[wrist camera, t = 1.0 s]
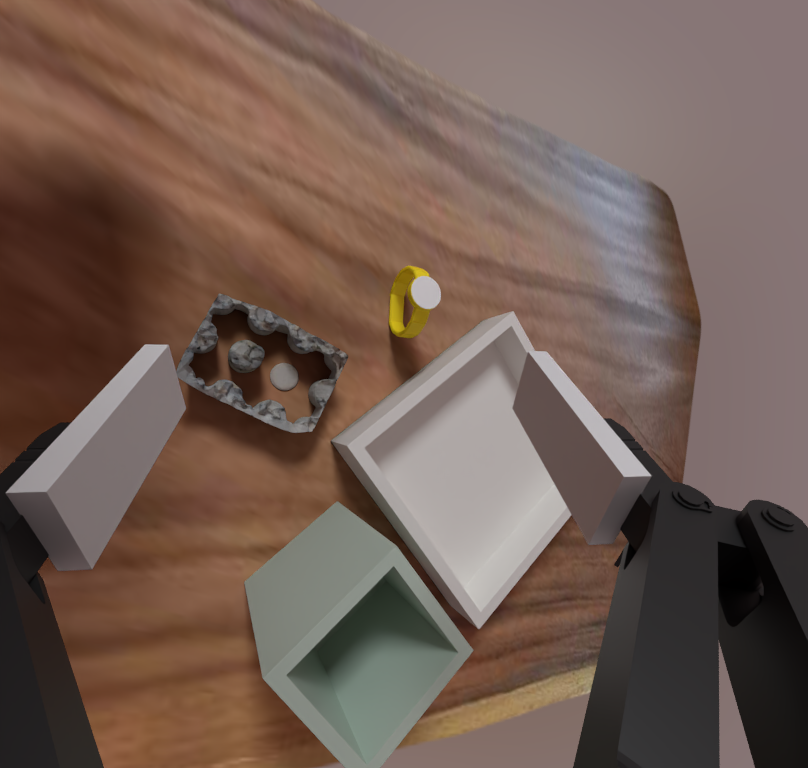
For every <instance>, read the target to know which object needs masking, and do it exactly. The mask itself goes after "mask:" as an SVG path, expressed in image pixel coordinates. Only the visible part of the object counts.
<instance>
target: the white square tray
mask: <svg viewBox="0 0 808 768" xmlns="http://www.w3.org/2000/svg"><path fill="white" fill-rule="evenodd" d="M528 351H535V350H534V348H533V346H532V344H531V343H530V341H529V339H528V337H527V335H526V334H525V332H524V330H523V328H522V326H521V325H520V323H519V321H518V319H517V317H516V315H515V314H514V312H513V311H512V312H508V313H505V314H502V315H499V316H496V317H492V318H489V319H486V320H483V321H482V322H481V323H479V324H478V325H477V326H476V327H474V328H473V329H472V330H471V331H469V332H468V333H467V334H465V335H464V336H463V337H462V338H460V339H459V340H458V341H457V342H455V343H454V344H453V345H452V346H450V347H449V348H448V349H446V350H445V351H444V352H443V353H441V354H440V355H439V356H438V357H436V358H435V359H434V360H432V361H431V362H430V363H429V364H427V365H426V366H425V367H424V368H422V369H421V370H420V371H419V372H417V373H416V374H415V375H413V376H412V377H411V378H410V379H408V380H407V381H406V382H405V383H403V384H402V385H401V386H400V387H398V388H397V389H396V390H394V391H393V392H392V393H391V394H389V395H388V396H387V397H386V398H384V399H383V400H382V401H381V402H379V403H378V404H377V405H375V406H374V407H373V408H372V409H370V410H369V411H368V412H367V413H365V414H364V415H363V416H361V417H360V418H359V419H358V420H356V421H355V422H354V423H353V424H351V425H350V426H349V427H348V428H346V429H345V430H344V431H342V432H341V433H340V434H339V435H337V436H336V437H335V438H334V439H332V440H331V442H332V444H333V445H334V446H335V448H336V449H337V451H338V452H339V453H340V455H341V456H342V457H343V459H344V460H345V462H346V463H347V464H348V466H349V467H350V468H351V470H352V471H353V473H354V474H355V475H356V477H357V478H358V479H359V481H360V482H361V484H362V485H363V486H364V488H365V489H366V490H367V492H368V493H369V495H370V496H371V497H372V499H373V500H374V501H375V503H376V504H377V506H378V507H379V508H380V510H381V511H382V512H383V514H384V515H385V517H386V518H387V519H388V521H389V522H390V523H391V525H392V526H393V528H394V529H395V530H396V532H397V533H398V534H399V536H400V537H401V539H402V540H403V541H404V543H405V544H406V545H407V547H408V548H409V550H410V551H411V552H412V554H413V555H414V556H415V558H416V559H417V561H418V562H419V563H420V565H421V566H422V567H423V569H424V570H425V572H426V573H427V574H428V576H429V577H430V578H431V580H432V581H433V583H434V584H435V585H436V587H437V588H438V589H439V591H440V592H441V594H442V595H443V596H444V598H445V599H446V600H447V602H448V603H449V605H450V606H451V607H452V608H454V609H455V610H456V611H457V612H458V613H460V614H461V615H462V616H463V617H464V618H466V619H467V620H468V621H469V622H470V623H472V624H473V625H474V626H475V627H476V628H478V629H480V628H481V626H482V625H483V624H484V623H485V621H486V620H487V619H488V618H489V617H490V615H491V614H492V613H493V612H494V610H495V609H496V608H497V607H498V605H499V604H500V603H501V602H502V600H503V599H504V598H505V597H506V595H507V594H508V593H509V592H510V591H511V589H512V588H513V587H514V586H515V584H516V583H517V582H518V581H519V579H520V578H521V577H522V576H523V574H524V573H525V572H526V571H527V569H528V568H529V567H530V566H531V564H532V563H533V562H534V561H535V560H536V558H537V557H538V556H539V555H540V553H541V552H542V551H543V550H544V548H545V547H546V546H547V545H548V543H549V542H550V541H551V540H552V538H553V537H554V536H555V535H556V534H557V532H558V531H559V530H560V529H561V527H562V526H563V525H564V524H565V522H566V521H567V520H568V519H569V517H570V516H571V515H572V514H571V513H570V511H569V509H568V507H567V506H566V504H565V502H564V500H563V498H562V497H561V495H560V493H559V491H558V489H557V488H556V486H555V484H554V482H553V480H552V479H551V477H550V475H549V473H548V471H547V470H546V468H545V466H544V464H543V462H542V461H541V459H540V457H539V455H538V453H537V452H536V450H535V448H534V446H533V444H532V443H531V441H530V439H529V437H528V436H527V434H526V432H525V430H524V428H523V427H522V425H521V423H520V421H519V419H518V418H517V416H516V414H515V412H514V410H513V409H512V407H513V404H514V400H515V396H516V393H517V389H518V386H519V382H520V378H521V375H522V371H523V368H524V364H525V360H526V357H527V353H528Z"/></svg>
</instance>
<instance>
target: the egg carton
mask: <svg viewBox="0 0 808 768" xmlns="http://www.w3.org/2000/svg"><path fill="white" fill-rule="evenodd" d="M235 309H237V310H241V311H242V312H244V313H246V314H248V318H247V321H248V325H249V327H250V329H251V330H252V331H253V332H254V333H256V334H259V335H268V334H270V333H272V332H274V331H275V330H276V331H279V332H282V333H286V334H288V337H287V342H288V345H289V347H290V348H291V350H292V351H294V352H295V353H299V354H306V353H309V352H313V351H320V352H321V353H323V354H324V361H325V364H326V366H327V367H328V368H329V369H330V370H331V371H332V372H331V374H330V376H329V379H324V380H320V381H316V382H314V383H313V384H312V385H311V386H310V388H309V393H308V397H309V400H310V402H311V403H312V404H313V405H314V406H316V408H315V410H314V412H313V414H312V416H311V417H302V418H299V419H298V420H296V421H295V423H294V424H293V423H291V422H289V421H287V420H286V412H285V408H284V407H283V406H282V405H281V404H280V403H278V402H276V401H273V400H266V401H262V402H260V403H258V404H257V405H256V406H255V407H253V408H252V406H251V405H246V402H245V401H244V400H243V397H242V394H243V392H242V390H241V389H240V388H239V387H238V386H237V385H236V384H235V383H234V382H233V381H229V380H219V381H217V382H216V383H214V384H213V385H211V386H209V387H208V386H205V383H204V380H203V379H201V378H196V376H195V373H194V371H193V370H192V368H191V367H190V366H189V364H190V363H191V361H192V360H193V353H199V354H202V353H207V352H210V351H211V350H212V349H214V348H215V346H216V344H217V340H218V336H217V329H216V327H215V326H214V325H213V324H212V323H211V320H212V315H213V314H217V315H227V314H229V313H231V312H232V311H233V310H235ZM264 355H265V353H264V349H263V348H262V347H261V346H258V345H257V344H255V343H253V342H251V341H249V340H242V341H238V342H236V343H235V344H234V345H233V344H232V346H231V348H230V350H229V354H228V361H229V364H230V366H231V368H232V369H234V370H235V371H237V372H239V373H249V372H252V371H254V370H255V369H256V368H257V367H259V366H260V365H261V363H262V361H263V358H264ZM347 359H348V355H347V354H346V353H344V352H342V351H340V350H339V349H338V348H336V347H335V346H332V345H331V344H329V343H328V342H326V341H324V340H322V339H320V338H318V337H316V336H313V335H311V334H309V333H308V332H306V331H304V330H303V329H301V328H300V327H298V326H296V325H294V324H291V323H290V322H288V321H286V320H285V319H283V318H281V317H279V316H277V315H276V314H274V313H272V312H271V311H268V310H265V309H262V308H260V307H257V306H254V305H250V304H247V303H245V302H242V301H238V300H235V299H232V298H231V297H229V296H226V295H223V294H219V295H218V297H217V298H216V300H215V301H214V303H213V304H212V306H211V308H210V310H209V311H208V314H207V316H206V318H205V319H204V321H203V322H202V324H201V325H200V327H199V329H198V331H197V333H196V334H195V336H194V338H193V339H192V341H191V343H190V345H189V347H188V348H187V349H186V351H185V353H184V355H183V357H182V359H181V361H180V363H179V365H178V368H177V371H176V373H177V377H178V378H180V379H181V380H183V381H184V382H186V383H187V384H189V385H190V386H192V387H194V388H196V389H198V390H199V391H201V392H203V393H205V394H207V395H209V396H211V397H214V398H216V399H217V400H219V401H221V402H224V403H227V404H229V405H231V406H233V407H234V408H236V409H238V410H240V411H243V412H245V413H247V414H249V415H251V416H253V417H255V418H257V419H260V420H262V421H263V422H265V423H267V424H270V425H272V426H275V427H277V428H280V429H282V430H285V431H289V432H292V433H300V432H312V431H313V429H314V428H315V426H316V424H317V422H318V419H319V417H320V415H321V413H322V411H323V409H324V407H325V405H326V403H327V401H328V399H329V397H330V395H331V393H332V391H333V389H334V386H335V384H336V381H337V379H338V377H339V376H340V373H341V371H342V369H343V367H344V365H345V363H346V361H347ZM298 379H299V378H298V372H297V370H296V368H295V367H293V366H292V365H290V364H288V363H281V364H278V365H276V366H275V367H273V369H272V370H271V373H270V380H271V382H272V384H273V385H274V386H275V387H276V388H277V389H279V390H284V391H286V390H290V389H292V388H294V387H295V386H296V384H297V383H298ZM243 404H244V405H246V406H244V405H243Z"/></svg>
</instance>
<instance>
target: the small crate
mask: <svg viewBox="0 0 808 768" xmlns="http://www.w3.org/2000/svg"><path fill="white" fill-rule="evenodd" d="M244 584H245V589H246V594H247V599H248V605H249V610H250V615H251V620H252V625H253V631H254V636H255V641H256V646H257V651H258V657H259V662H260V667H261V672H262V677H263V679H264V681H265V682H266V683H267V684H268V685H269V686H270V687H271V688H272V689H273V690H274V691H275V692H276V694H277V695H278V696H279V697H280V698H281V699H282V700H283V701H284V702H285V703H286V704H287V705H288V707H289V708H290V709H291V710H292V711H293V712H294V713H295V714H296V715H297V716H298V717H299V718H300V720H301V721H302V722H303V723H304V724H305V725H306V726H307V727H308V728H309V729H310V730H311V731H312V733H313V734H314V735H315V736H316V737H317V738H318V739H319V740H320V741H321V742H322V743H323V744H324V746H325V747H326V748H327V749H328V750H329V751H330V752H331V753H332V754H333V755H334V756H335V757H336V759H337V760H338V761H339V762H340V763H341V764H342V765H343V766H344V767H345V768H381V766H382V765H383V764H384V763H385V761H386V760H387V759H388V757H389V756H390V755H391V754H392V753H393V751H394V750H395V749H396V747H397V746H398V745H399V744H400V742H401V741H402V740H403V739H404V737H405V736H406V735H407V734H408V732H409V731H410V730H411V729H412V727H413V726H414V725H415V724H416V722H417V721H418V720H419V718H420V717H421V716H422V715H423V713H424V712H425V711H426V710H427V708H428V707H429V706H430V705H431V703H432V702H433V701H434V700H435V698H436V697H437V696H438V695H439V693H440V692H441V691H442V690H443V688H444V687H445V686H446V684H447V683H448V682H449V681H450V679H451V678H452V677H453V676H454V674H455V673H456V672H457V671H458V669H459V668H460V667H461V666H462V664H463V663H464V662H465V661H466V659H467V658H468V657H469V656H470V654H471V653H472V652H473V649H472V648H471V646H470V645H469V644H468V642H467V641H466V640H465V638H464V637H463V636H462V634H461V633H460V631H459V630H458V629H457V627H456V626H455V625H454V623H453V622H452V621H451V619H450V618H449V616H448V615H447V614H446V612H445V611H444V610H443V608H442V607H441V606H440V604H439V603H438V602H437V600H436V599H435V597H434V596H433V595H432V593H431V592H430V591H429V589H428V588H427V587H426V585H425V584H424V582H423V581H422V580H421V578H420V577H419V576H418V574H417V573H416V572H415V570H414V569H413V567H412V566H411V565H410V563H409V562H408V561H407V559H406V558H405V557H404V555H403V554H402V552H401V551H400V550H399V548H398V547H397V546H396V545H395V544H394V543H392V542H391V541H390V540H388V539H387V538H386V537H384V536H383V535H382V534H380V533H379V532H378V531H376V530H375V529H374V528H372V527H371V526H370V525H368V524H367V523H366V522H364V521H363V520H362V519H360V518H359V517H358V516H356V515H355V514H354V513H352V512H351V511H350V510H348V509H347V508H346V507H344V506H343V505H342V504H340V503H339V502H338V501H337V502H336V503H335V504H333V505H332V506H331V507H330V508H329V509H328V510H326V511H325V512H324V513H323V514H322V515H321V516H320V517H318V518H317V519H316V520H315V521H314V522H313V523H312V524H310V525H309V526H308V527H307V528H306V529H305V530H303V531H302V532H301V533H300V534H299V535H298V536H297V537H295V538H294V539H293V540H292V541H291V542H290V543H288V544H287V545H286V546H285V547H284V548H283V549H282V550H280V551H279V552H278V553H277V554H276V555H275V556H274V557H272V558H271V559H270V560H269V561H268V562H267V563H265V564H264V565H263V566H262V567H261V568H260V569H259V570H257V571H256V572H255V573H254V574H253V575H252V576H251V577H249V578H248V579H247V580H246V581H245V582H244Z"/></svg>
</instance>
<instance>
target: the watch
mask: <svg viewBox="0 0 808 768" xmlns="http://www.w3.org/2000/svg"><path fill="white" fill-rule="evenodd" d="M413 277H414V278H415V279H414V280H413V281H412V282H411V283H410V281H411V280H412V279H413ZM409 283H410V285H409ZM408 285H409V286H408ZM407 288H408V291H407V293H408V299H409V301H410V303H411V304H412V306H413V307H414V309H413V313H412V316H411V320H410V321H409V323H408V324H407V326H406V328H405V327H404V325H403V312H404V296H405V293H406V290H407ZM390 293H391V294H390V312H389V325H390V328H391V331H392V333H393V334H395V335H396V336H398V337H405V338H413V337H415V336H417V335H418V334H419V333H420V332H421V330H422V329H423V327H424V326H425V324H426V322H427V319H428V316H429V313H430V310H432V309H433V308H435V307H436V306H437V305H438V303H439V301H440V298H441V292H440V288H439V286H438V284H437V283H436V281H434V280H433V279H432V278H430V277H429V274H428V272H426V271H425V270H423V269H421V268H417V267H413V266H407V267H405V268H403V269H402V270H401V271H400V272H399V274H398V275H397V277H396V278H395V281H394V283H393V286H392V289H391V292H390Z"/></svg>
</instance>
